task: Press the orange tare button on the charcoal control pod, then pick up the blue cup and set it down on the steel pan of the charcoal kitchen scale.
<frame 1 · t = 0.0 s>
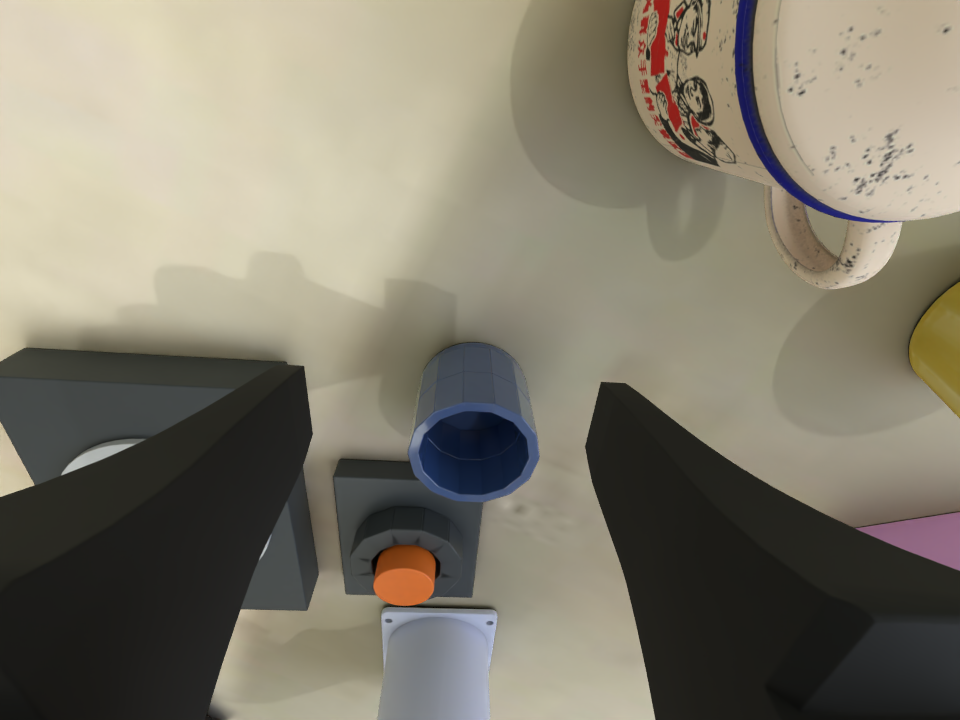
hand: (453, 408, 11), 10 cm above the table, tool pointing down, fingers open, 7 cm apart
scale: (196, 479, 26), on the table
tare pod: (411, 524, 28), on the table
tare button: (405, 574, 25), point 3 cm above the table, slide at 0.1 cm
teacup with lid: (743, 80, 17), on the table
blue cup: (472, 388, 23), on the table
teapot: (896, 587, 32), on the table
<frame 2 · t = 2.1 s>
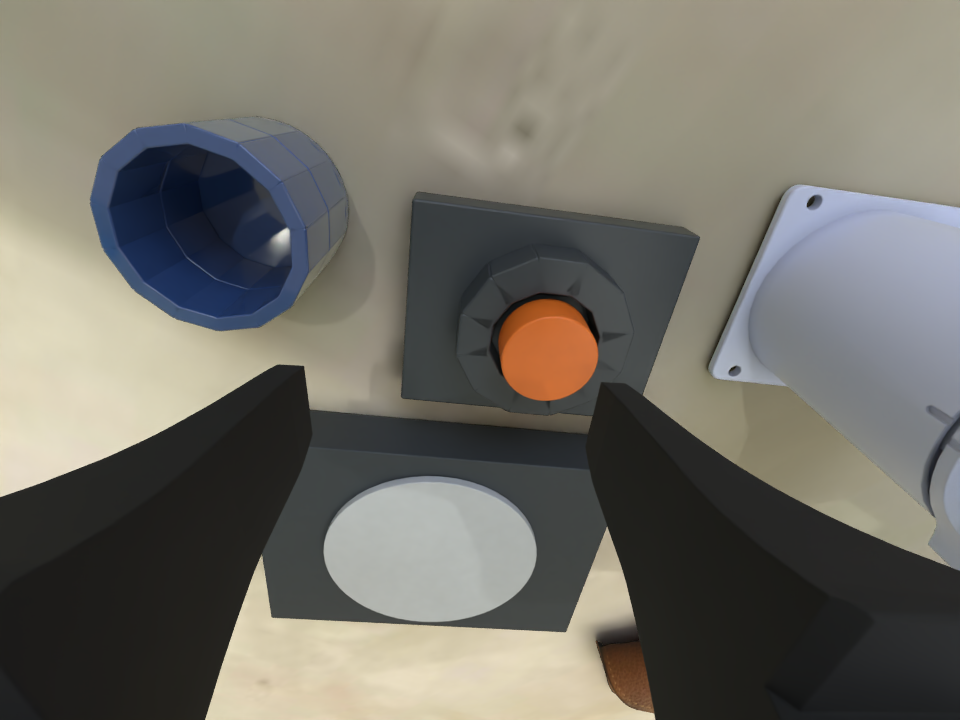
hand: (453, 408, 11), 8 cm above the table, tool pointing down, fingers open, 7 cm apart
scale: (434, 512, 24), on the table
sunglasses case: (732, 635, 31), on the table
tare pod: (533, 310, 19), on the table
tare button: (546, 350, 16), point 3 cm above the table, slide at 0.1 cm
blue cup: (273, 201, 16), on the table
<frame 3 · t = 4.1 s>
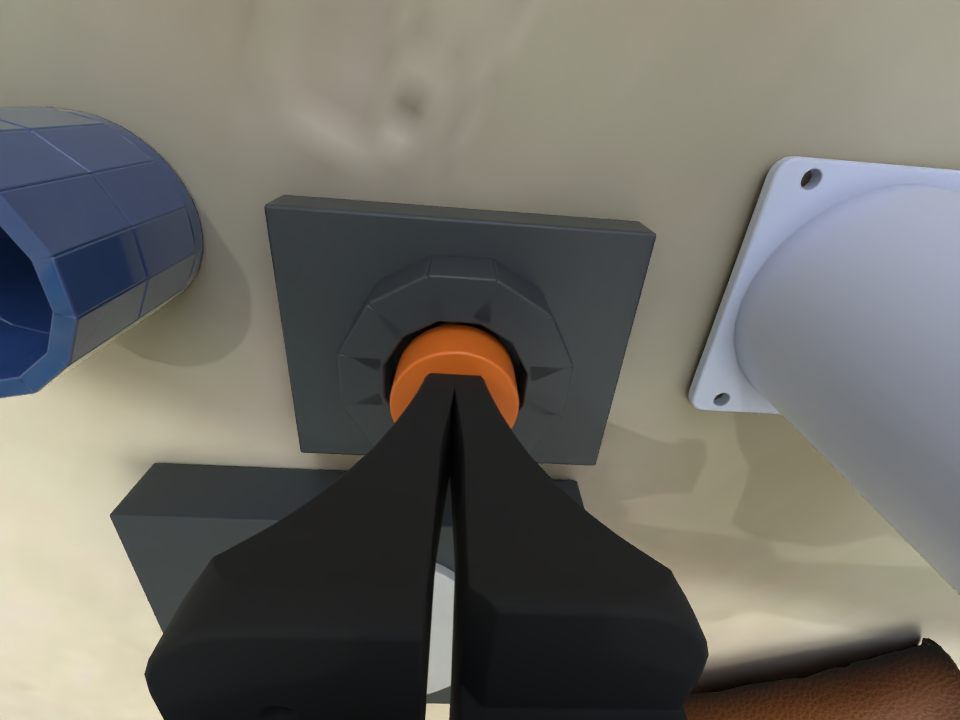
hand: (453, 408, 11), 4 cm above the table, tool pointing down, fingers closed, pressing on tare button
scale: (376, 572, 21), on the table
sunglasses case: (746, 690, 27), on the table
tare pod: (457, 335, 15), on the table
tare button: (455, 391, 12), point 3 cm above the table, slide at -0.1 cm, touching gripper
blue cup: (103, 217, 13), on the table
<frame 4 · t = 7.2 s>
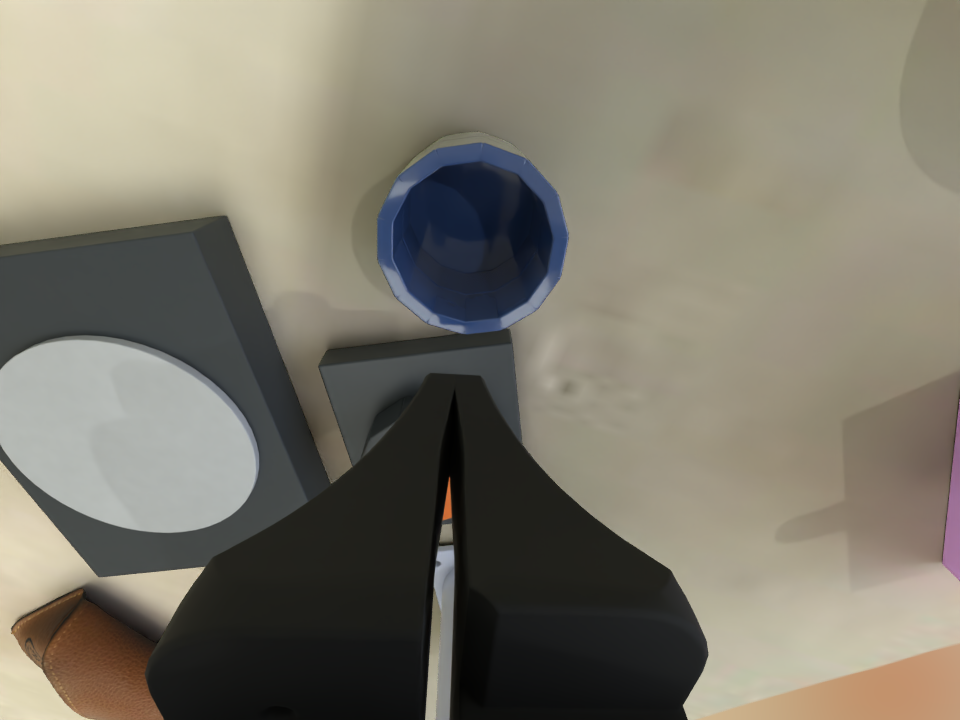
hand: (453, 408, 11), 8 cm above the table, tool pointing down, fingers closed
scale: (168, 407, 21), on the table
sunglasses case: (168, 665, 32), on the table
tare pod: (436, 430, 22), on the table
tare button: (431, 481, 19), point 3 cm above the table, slide at 0.1 cm
blue cup: (471, 210, 17), on the table
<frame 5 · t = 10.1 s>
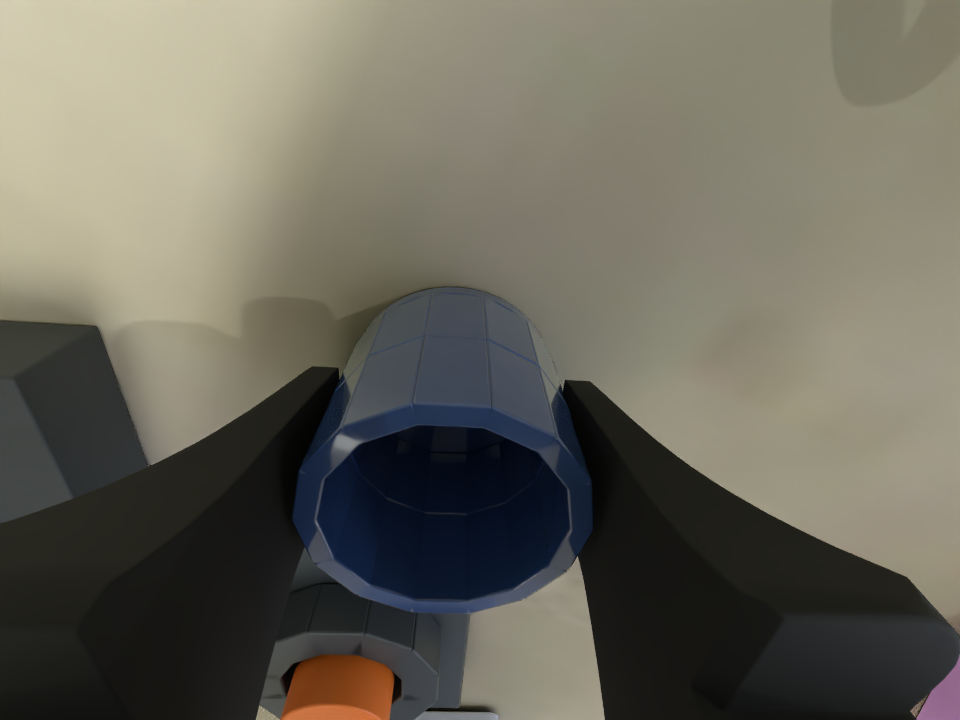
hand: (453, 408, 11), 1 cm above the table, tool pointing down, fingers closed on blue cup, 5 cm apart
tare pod: (361, 599, 17), on the table
tare button: (339, 702, 14), point 3 cm above the table, slide at 0.1 cm
blue cup: (453, 378, 13), on the table, touching gripper
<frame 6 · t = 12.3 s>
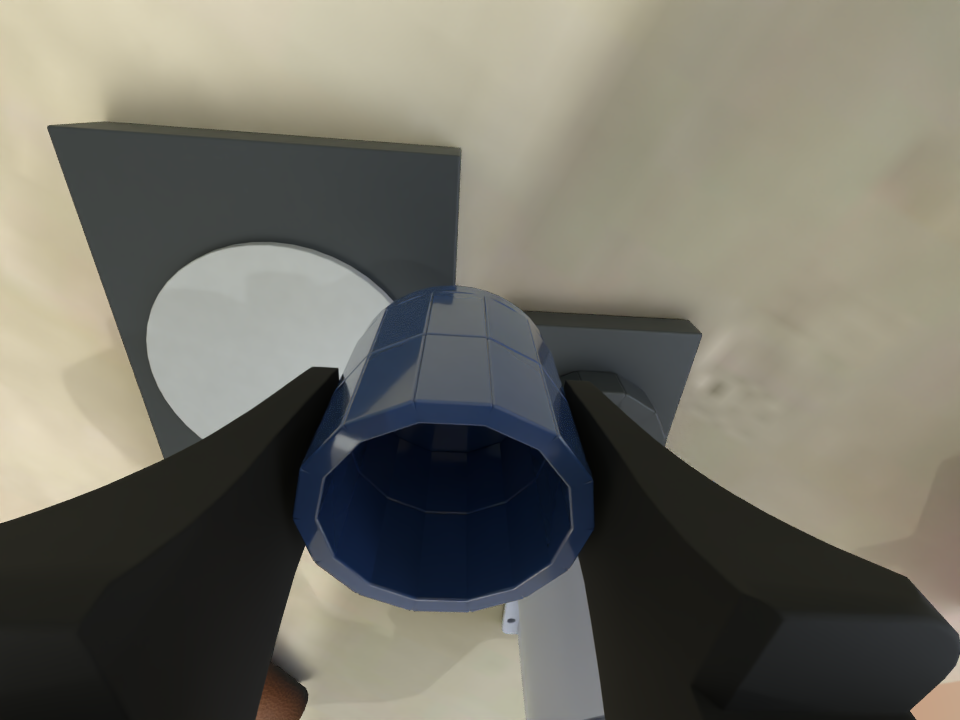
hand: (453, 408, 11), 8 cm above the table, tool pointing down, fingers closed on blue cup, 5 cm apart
scale: (312, 341, 20), on the table
sunglasses case: (191, 621, 30), on the table
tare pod: (576, 410, 22), on the table
blue cup: (453, 376, 13), point 7 cm above the table, touching gripper
when the fingers open (4 cm above the table, at t = 14.5 s): blue cup stays where it is, resting on scale.
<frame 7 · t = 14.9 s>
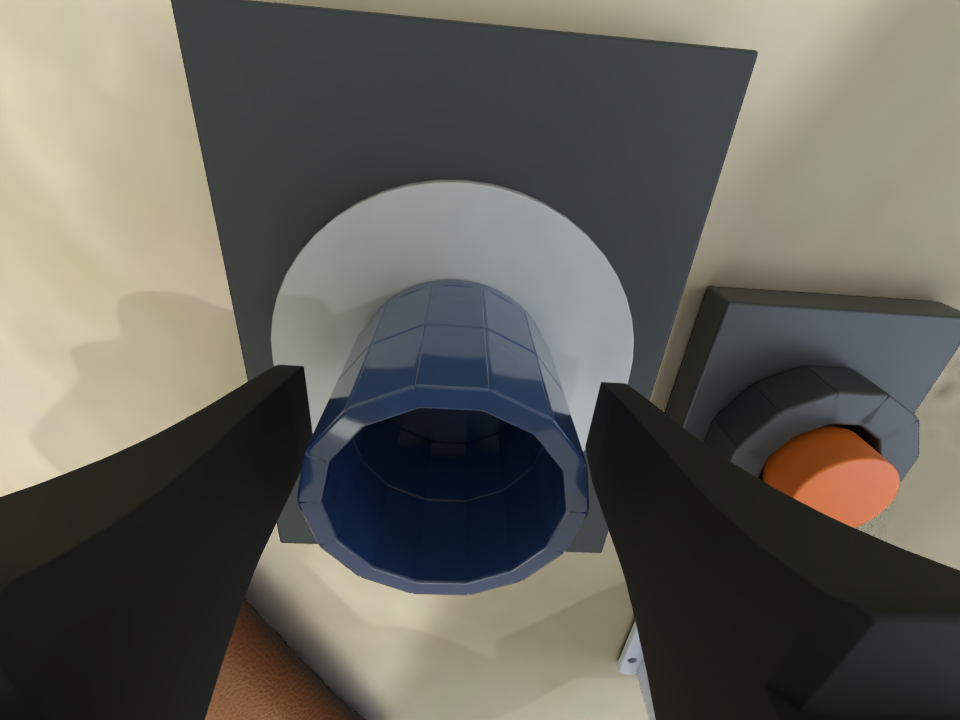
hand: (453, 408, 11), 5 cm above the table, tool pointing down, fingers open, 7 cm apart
scale: (456, 326, 15), on the table
sunglasses case: (255, 658, 25), on the table
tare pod: (766, 416, 18), on the table
tare button: (827, 480, 15), point 3 cm above the table, slide at 0.1 cm
blue cup: (452, 369, 13), point 3 cm above the table, touching scale
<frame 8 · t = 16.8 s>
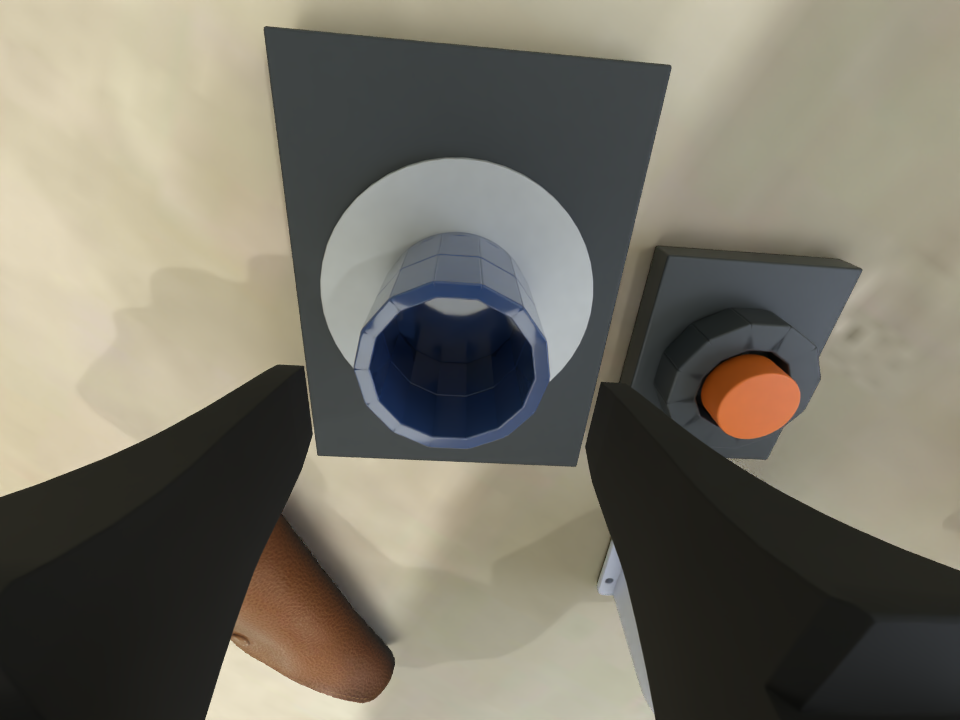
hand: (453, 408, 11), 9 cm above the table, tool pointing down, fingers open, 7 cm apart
scale: (459, 278, 20), on the table
sunglasses case: (285, 580, 29), on the table
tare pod: (710, 356, 22), on the table
tare button: (748, 396, 19), point 3 cm above the table, slide at 0.1 cm
blue cup: (456, 303, 17), point 3 cm above the table, touching scale
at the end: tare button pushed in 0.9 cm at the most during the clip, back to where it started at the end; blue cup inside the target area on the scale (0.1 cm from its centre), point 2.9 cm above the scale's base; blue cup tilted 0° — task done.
